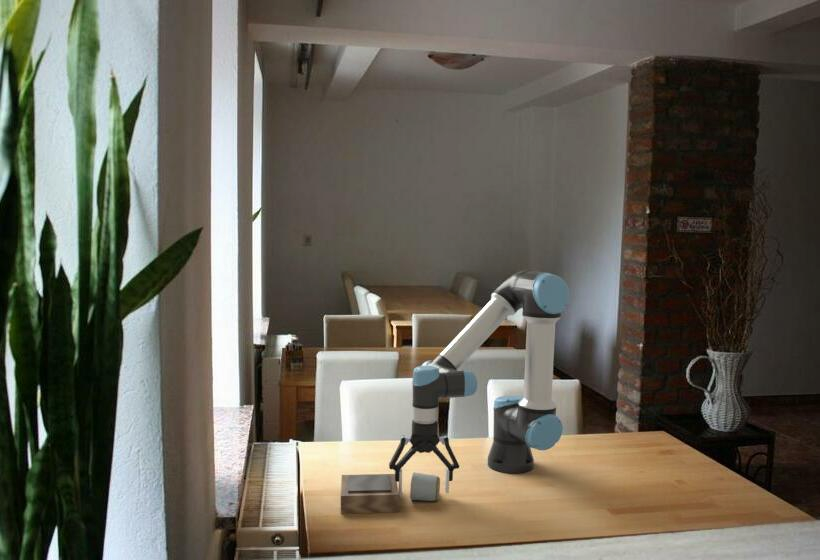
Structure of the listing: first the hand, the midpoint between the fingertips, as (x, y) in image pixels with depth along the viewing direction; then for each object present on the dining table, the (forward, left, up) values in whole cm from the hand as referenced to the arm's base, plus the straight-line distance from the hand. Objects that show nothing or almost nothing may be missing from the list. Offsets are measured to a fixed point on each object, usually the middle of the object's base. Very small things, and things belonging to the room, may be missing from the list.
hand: (423, 491), depth 212 cm
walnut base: (+16, +1, -2) cm, 16 cm away
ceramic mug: (0, -1, -2) cm, 3 cm away
